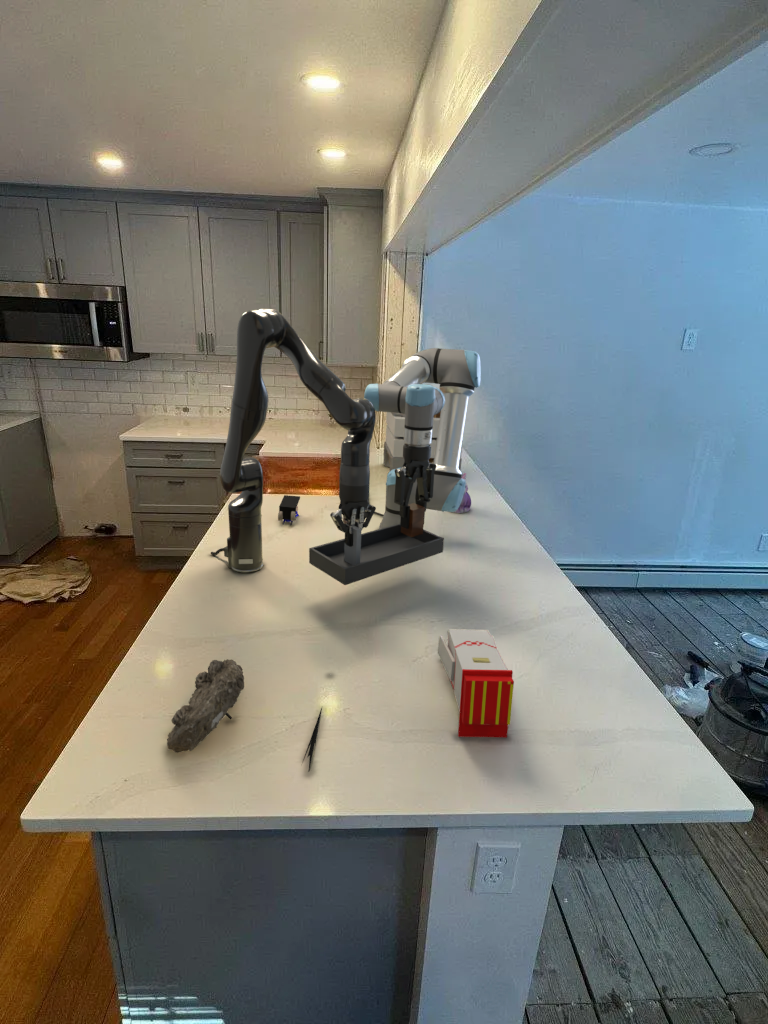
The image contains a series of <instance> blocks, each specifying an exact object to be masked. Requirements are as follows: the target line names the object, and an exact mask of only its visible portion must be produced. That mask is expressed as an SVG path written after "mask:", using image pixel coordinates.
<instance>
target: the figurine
mask: <svg viewBox="0 0 768 1024" xmlns="http://www.w3.org/2000/svg"><path fill="white" fill-rule="evenodd" d="M462 479H464V480H465V481H466V480H467V472H463V473H462ZM468 490H469V487H468V484H467V483H466V485H465V491H464V495H463V498H462V501H461V504H460V506H459V508H458V509H457V510H456V511H455V512H454V513H456V514H463V513H468V512H469V511H470V510H471V506H472V498H471V496H470V493H469V492H468Z"/></svg>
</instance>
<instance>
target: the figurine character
mask: <svg viewBox="0 0 768 1024" xmlns="http://www.w3.org/2000/svg"><path fill="white" fill-rule="evenodd" d="M300 499H301V495H287V494H284V495H283V497H282V500H281V502H280V504H279V506H278V514H277V521H279V522H282V523H281V525H283V526H284V525H285V524H286V523H290V524H289V525H290V526H292V525H293V523H294V522H295V521H296V519H297V517H299V513H298V511H299V507H298V504H299V502H300Z"/></svg>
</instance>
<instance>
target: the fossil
mask: <svg viewBox="0 0 768 1024" xmlns="http://www.w3.org/2000/svg"><path fill="white" fill-rule="evenodd" d="M243 670H244V669H243V667H242V665H240V664H237V662H236V661H235V660H234V659H232V658H231V659H227V658H226V659H224V660H223V661H222V660H217V659H212V660H211V661H210V663H209V665H208V666H207V671H201V672H199V673H198V674H197V675H196V676H195V680H194V684H195V685H194V687H195V689H194V690H193V693H192V694H191V697H190V698H189V700H188V704H184V705H182V706H181V707H180V709H177V710H176V711H175V713H174V715H173V716H172V718H171V723H172V724H173V727H172V730H171V731H170V732H168V734H167V738H166V741H167V742H166V745H167V749H168V750H169V751H173V752H174V753H176V754H178V753H182V752H188V751H189V752H192V751H193V750H195V748H196V747H197V746H199V744H200V743H201V742H203V741H204V740H205V739H206V738H207V737H208V736H209V735H210V734H211V733H212V732H214V730H215V729H217V727H218V726H219V724H220V722H221V721H222V720H223V719H224V718H225V716H226V717H227V719H229V720H233V717H232V715H230V714H229V710H230V709H231V708H234V706H235V704H236V703H237V702H238V699H239V697H240V695H241V693H242V691H243V690H245V689H244V688H245V675H244V671H243Z"/></svg>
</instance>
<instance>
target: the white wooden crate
mask: <svg viewBox="0 0 768 1024" xmlns="http://www.w3.org/2000/svg"><path fill="white" fill-rule="evenodd" d="M440 413H441V411H440V412H439V413H438V414H436V415H434V417H433V429H432V442H431V444H429V445H430V446H431V457H430V459H429V460H428V461H429V462H430V463H434V456H435V449H436V442H437V434H438V427H439V420H440ZM385 414H386V415H385V423H386V428H385V438H384V442H383V466H384V467H388V468H389V472H390V471H391V470H393V469H396V468H402V467H403V464H404V458H403V445H404V444H405V443H404V426H405V414H402V413H391V412H385ZM463 442H464V440H462V444H463ZM462 453H463V445H462V446H461V453H460V460H459V470H460V471H461V472H462V461H463V460H462Z"/></svg>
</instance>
